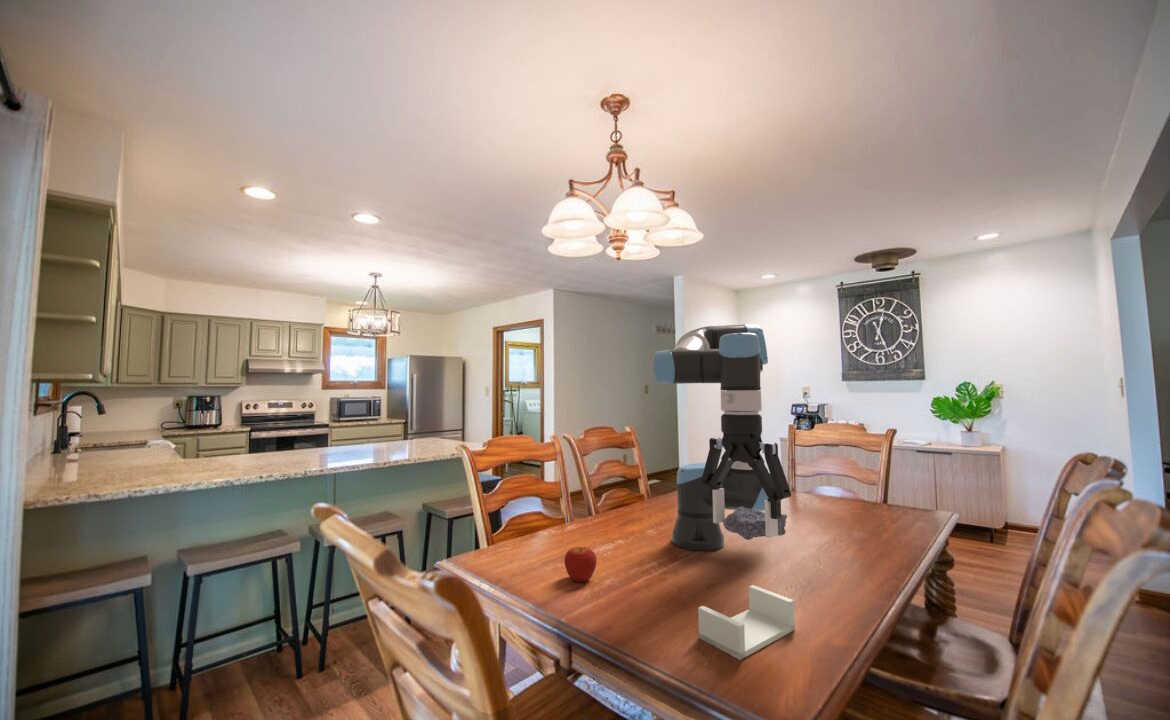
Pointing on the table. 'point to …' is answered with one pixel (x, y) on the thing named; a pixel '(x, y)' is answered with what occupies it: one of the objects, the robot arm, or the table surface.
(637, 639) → the table surface
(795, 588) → the table surface
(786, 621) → the u rest
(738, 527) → the rock
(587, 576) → the apple
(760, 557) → the table surface
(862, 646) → the table surface
